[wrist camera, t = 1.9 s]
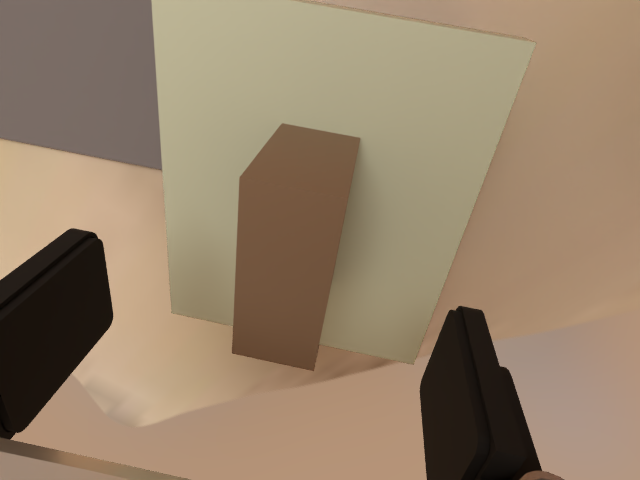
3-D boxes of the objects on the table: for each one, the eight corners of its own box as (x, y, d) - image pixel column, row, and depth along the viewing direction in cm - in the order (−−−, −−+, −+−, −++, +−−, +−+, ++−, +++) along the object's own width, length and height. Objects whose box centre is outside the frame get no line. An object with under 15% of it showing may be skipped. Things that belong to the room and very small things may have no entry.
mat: (-127, -219, 16) (-138, -223, 16) (169, -173, 16) (165, -177, 16) (-22, 130, 24) (-28, 132, 24) (182, 170, 23) (179, 173, 23)
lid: (182, -24, 14) (38, -27, 8) (516, 34, 13) (606, 73, 8) (191, 283, 21) (116, 396, 15) (411, 329, 20) (418, 463, 15)
